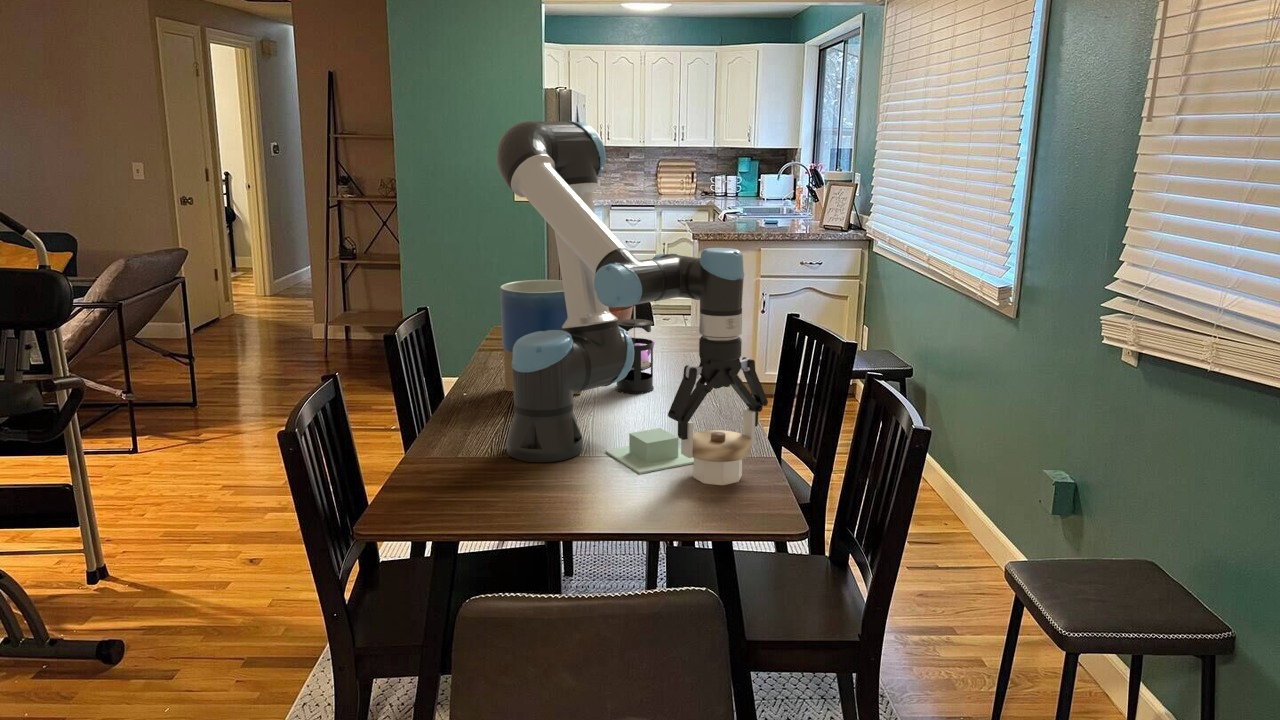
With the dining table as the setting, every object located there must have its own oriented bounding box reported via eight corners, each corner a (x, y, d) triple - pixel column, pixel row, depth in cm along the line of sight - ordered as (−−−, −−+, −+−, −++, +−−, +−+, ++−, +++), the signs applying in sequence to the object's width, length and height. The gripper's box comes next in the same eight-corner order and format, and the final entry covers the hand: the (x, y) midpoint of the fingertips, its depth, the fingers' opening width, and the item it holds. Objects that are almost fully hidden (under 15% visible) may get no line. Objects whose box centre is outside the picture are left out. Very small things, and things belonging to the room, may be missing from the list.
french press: (657, 393, 225) (657, 300, 220) (618, 395, 224) (618, 301, 218) (648, 381, 237) (649, 292, 231) (612, 383, 235) (611, 293, 230)
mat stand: (639, 474, 172) (639, 451, 171) (605, 452, 184) (605, 431, 183) (703, 461, 179) (703, 439, 178) (666, 441, 190) (666, 420, 189)
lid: (708, 466, 162) (708, 448, 161) (672, 446, 172) (673, 430, 171) (764, 454, 167) (764, 438, 167) (726, 436, 178) (726, 420, 177)
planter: (519, 380, 238) (515, 278, 232) (591, 384, 234) (590, 280, 228) (492, 400, 220) (488, 290, 214) (570, 405, 216) (568, 293, 210)
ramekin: (711, 487, 165) (711, 461, 164) (686, 473, 172) (686, 447, 171) (749, 479, 169) (750, 453, 168) (723, 465, 176) (724, 440, 175)
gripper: (671, 347, 155) (670, 467, 160) (789, 332, 167) (785, 444, 172) (649, 339, 162) (649, 454, 167) (764, 325, 174) (761, 433, 179)
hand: (718, 449), depth 170 cm, fingers open, 13 cm apart
